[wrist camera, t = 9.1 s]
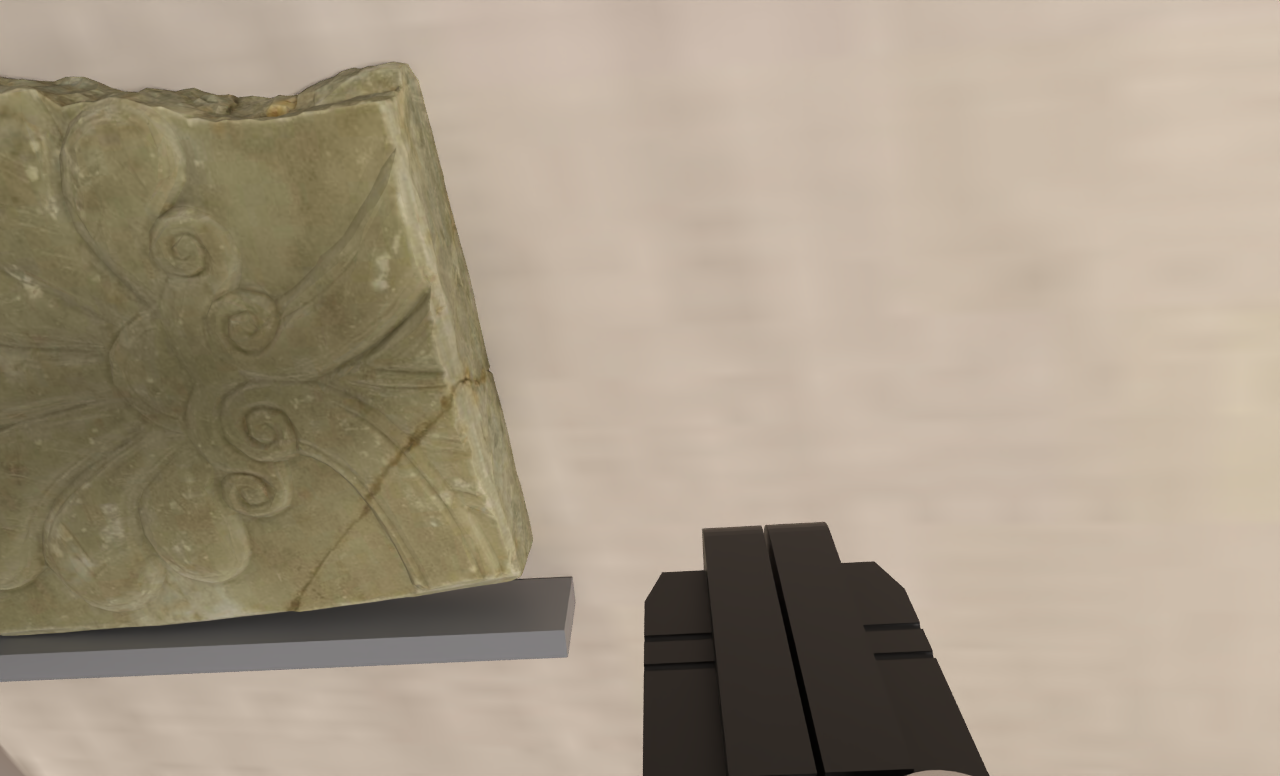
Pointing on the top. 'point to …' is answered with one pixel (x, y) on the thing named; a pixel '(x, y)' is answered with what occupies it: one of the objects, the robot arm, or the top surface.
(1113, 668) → the top surface
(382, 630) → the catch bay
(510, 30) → the top surface
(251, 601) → the decorative tile
